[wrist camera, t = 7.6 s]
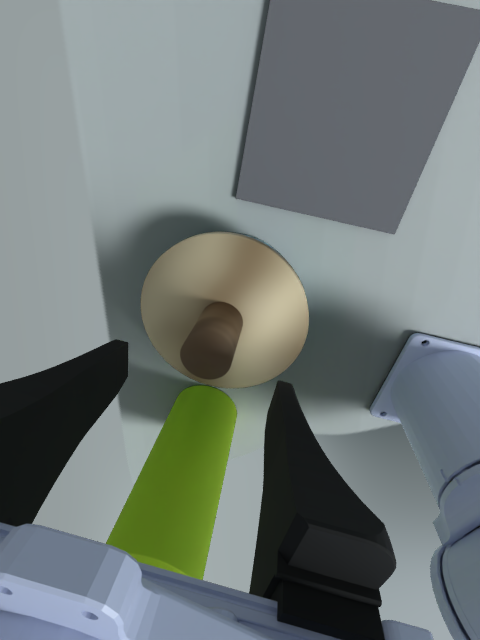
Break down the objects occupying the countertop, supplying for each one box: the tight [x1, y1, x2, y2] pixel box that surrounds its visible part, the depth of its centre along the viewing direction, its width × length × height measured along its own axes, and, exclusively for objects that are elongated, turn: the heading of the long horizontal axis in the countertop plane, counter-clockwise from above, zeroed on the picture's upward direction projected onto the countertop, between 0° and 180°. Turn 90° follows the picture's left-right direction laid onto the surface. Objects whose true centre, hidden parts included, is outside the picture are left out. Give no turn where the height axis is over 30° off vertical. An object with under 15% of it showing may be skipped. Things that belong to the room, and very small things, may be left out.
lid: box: [141, 232, 309, 388], centre depth 16 cm, size 10×10×5 cm
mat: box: [236, 0, 480, 234], centre depth 16 cm, size 10×10×1 cm
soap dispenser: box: [106, 385, 237, 580], centre depth 19 cm, size 6×7×20 cm
